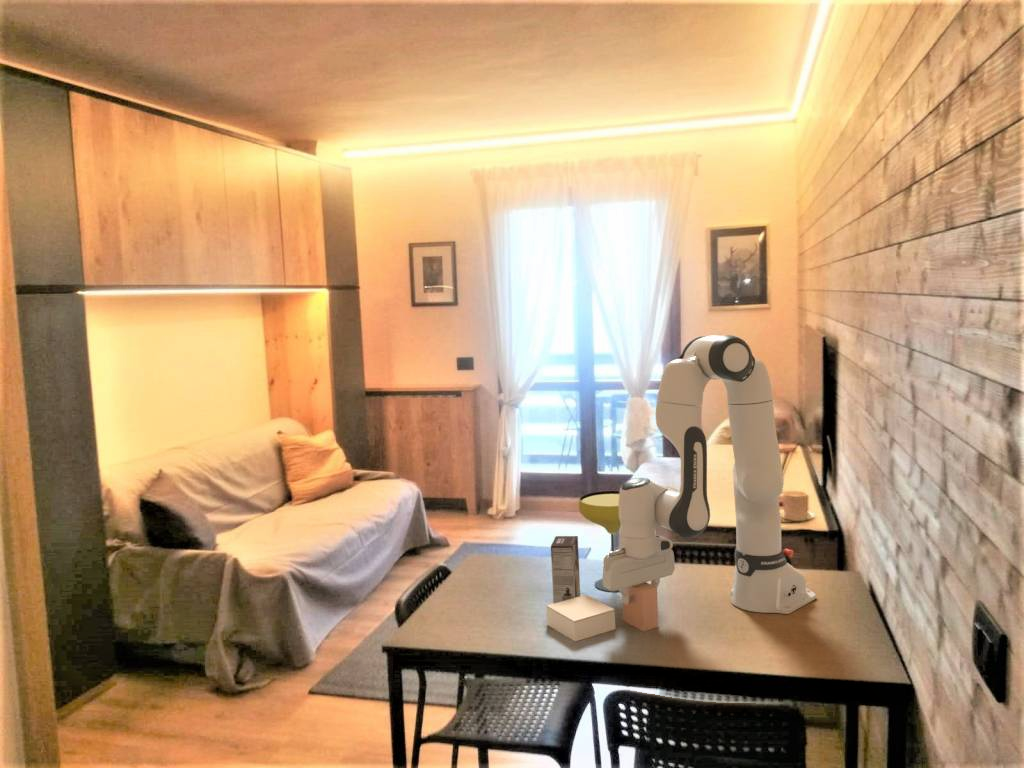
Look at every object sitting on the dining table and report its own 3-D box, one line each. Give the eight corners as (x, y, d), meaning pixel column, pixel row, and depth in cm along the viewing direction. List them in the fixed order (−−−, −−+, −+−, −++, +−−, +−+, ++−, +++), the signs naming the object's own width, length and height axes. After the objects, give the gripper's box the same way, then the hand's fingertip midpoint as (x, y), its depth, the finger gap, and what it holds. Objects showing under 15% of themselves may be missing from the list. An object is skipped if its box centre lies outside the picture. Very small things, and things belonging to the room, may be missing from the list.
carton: (637, 616, 196) (636, 578, 195) (658, 626, 189) (657, 587, 188) (623, 620, 193) (621, 581, 192) (643, 631, 186) (642, 591, 185)
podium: (586, 613, 199) (586, 594, 198) (615, 629, 188) (614, 609, 188) (547, 624, 193) (546, 605, 192) (574, 641, 182) (574, 621, 182)
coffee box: (557, 591, 215) (555, 535, 214) (580, 592, 214) (578, 535, 212) (552, 604, 206) (550, 545, 205) (576, 604, 205) (574, 545, 203)
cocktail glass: (585, 573, 229) (582, 490, 226) (647, 574, 225) (644, 490, 223) (578, 595, 211) (574, 506, 209) (645, 597, 207) (642, 506, 205)
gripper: (611, 556, 181) (613, 613, 183) (677, 540, 191) (679, 594, 193) (595, 550, 187) (598, 605, 188) (660, 534, 197) (662, 586, 198)
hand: (639, 599), depth 190 cm, fingers open, 6 cm apart
